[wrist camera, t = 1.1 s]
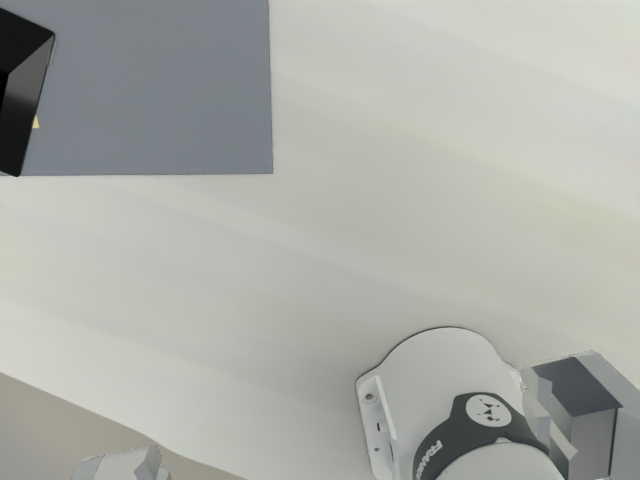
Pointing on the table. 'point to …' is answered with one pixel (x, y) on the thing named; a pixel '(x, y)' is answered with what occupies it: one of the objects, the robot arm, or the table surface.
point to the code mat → (152, 88)
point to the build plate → (20, 84)
